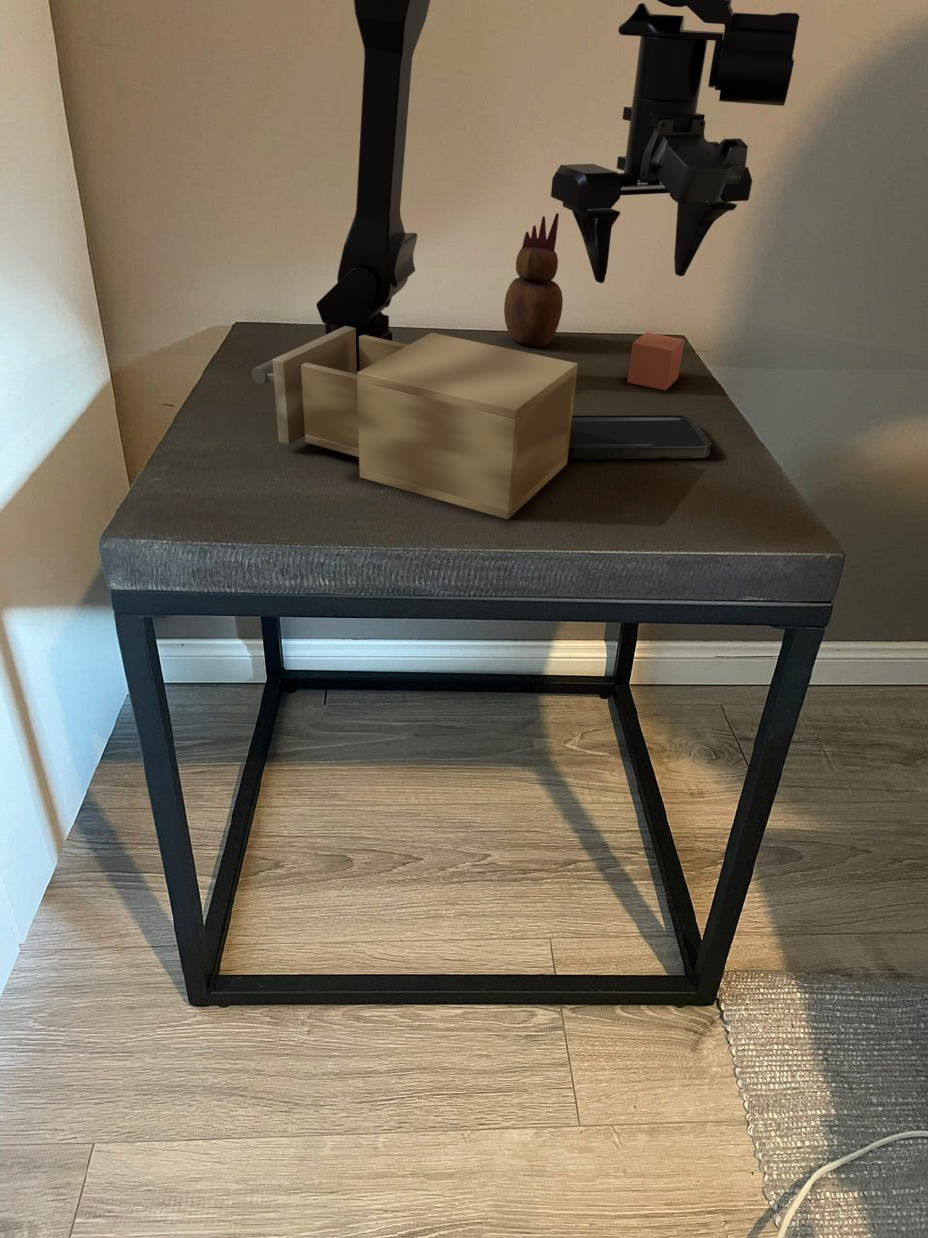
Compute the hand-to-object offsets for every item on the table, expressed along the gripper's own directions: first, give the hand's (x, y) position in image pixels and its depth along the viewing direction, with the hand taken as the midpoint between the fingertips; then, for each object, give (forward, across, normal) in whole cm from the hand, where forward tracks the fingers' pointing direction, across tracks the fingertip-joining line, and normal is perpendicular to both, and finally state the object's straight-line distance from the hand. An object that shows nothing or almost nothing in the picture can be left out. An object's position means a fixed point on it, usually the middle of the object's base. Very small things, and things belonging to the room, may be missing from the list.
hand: (640, 278), depth 93 cm
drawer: (+12, -29, 0) cm, 32 cm away
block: (+13, +7, +5) cm, 16 cm away
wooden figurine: (+13, 0, +21) cm, 25 cm away
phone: (+13, -5, -8) cm, 16 cm away
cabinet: (+13, -22, -9) cm, 27 cm away
